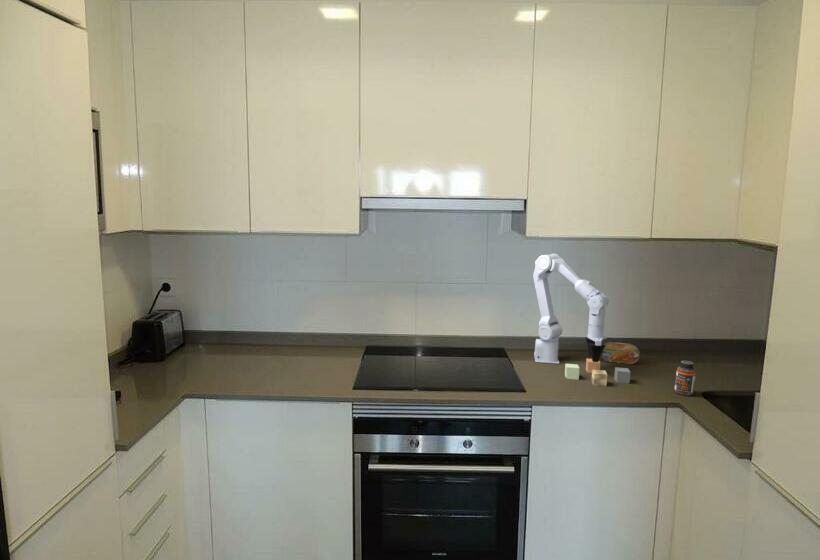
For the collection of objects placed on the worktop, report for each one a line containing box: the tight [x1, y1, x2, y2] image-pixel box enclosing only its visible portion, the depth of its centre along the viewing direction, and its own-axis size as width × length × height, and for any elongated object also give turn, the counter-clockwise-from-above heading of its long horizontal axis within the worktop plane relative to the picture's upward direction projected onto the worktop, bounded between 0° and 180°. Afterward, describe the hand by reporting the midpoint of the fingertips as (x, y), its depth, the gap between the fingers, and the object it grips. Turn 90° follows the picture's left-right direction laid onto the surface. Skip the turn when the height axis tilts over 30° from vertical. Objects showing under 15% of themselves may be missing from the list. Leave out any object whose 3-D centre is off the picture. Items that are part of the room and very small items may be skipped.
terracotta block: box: [585, 358, 601, 374], centre depth 207 cm, size 4×4×4 cm
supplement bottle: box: [674, 360, 697, 397], centre depth 185 cm, size 6×6×11 cm
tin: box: [600, 341, 641, 365], centre depth 219 cm, size 15×3×8 cm, turn 72°
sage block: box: [564, 363, 580, 381], centre depth 200 cm, size 4×4×4 cm
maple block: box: [590, 369, 608, 387], centre depth 193 cm, size 4×4×4 cm
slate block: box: [613, 366, 631, 384], centre depth 197 cm, size 4×4×4 cm
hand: (593, 358), depth 206 cm, fingers open, 7 cm apart
